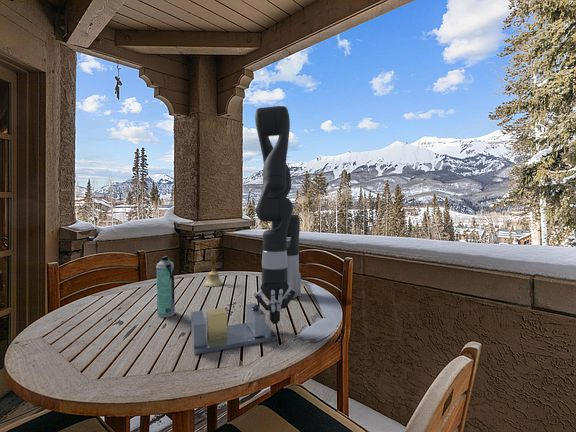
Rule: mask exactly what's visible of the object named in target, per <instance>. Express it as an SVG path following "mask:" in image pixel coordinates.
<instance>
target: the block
mask: <svg viewBox="0 0 576 432" xmlns="http://www.w3.org/2000/svg"><path fill="white" fill-rule="evenodd" d="M206 323H207V336H208V340H214V339H221V338H227V326H228V311H227V310H226V308H225V307H219V308H212V309H206Z"/></svg>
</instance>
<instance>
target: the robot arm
mask: <svg viewBox="0 0 576 432" xmlns="http://www.w3.org/2000/svg"><path fill="white" fill-rule="evenodd" d="M254 113H255V114H254V122H255V126H256V127H255V128H256V131H257V132H256V133H257V136H258V140H259V141H258V142H259V145H260V149H261V155H262V156H261V157H262V162H263V168H262V188H261V193H260V195H259V199H258V202H257V205H256V210H255V211H256V212H255V214H256V216H257V218H258V220H260V221H261V222H265V223H266V222H268V223H269V222H271V227H272V229H266V230H265V231H263V233H262V254H261V255H262V257H261V285H260V288H259V290H258V291H257V292H254V293H253V297H254V298H255V299H256V301H257V302H258V303H259V304H260V305H261V307H262V308H263V309H264V310H266V311H267V312H269V316H268V317H269V321H270V322H271V323H272V325H277V324H279V322H280V320H281V310H283V309H287V307H288V306H289V304H290V303H291V301H292V300H293V299H296V298H295V297H297V296H299V297H301V296H300V295H302V294H301V293H302V292H301V289H302V288H301V287H302V285H301V284H302V283H301V282H302V277H301V275H302V274H301V272H300V260H299V259H300V229H301V228H300V226H301V221H300V217H299V216H298V215H297V214H293V210H294V207H293V206H294V205H293V203H292V201H291V199H290V198H288V195H289V193H290V191H291V189H292V177H291V170H290V167H289V165H288V164H287V157H288V156H287V155H288V151H289V150H288V149H289V141H290V140H289V138H290V131H291V130H290V129H291V128H290V127H291V126H290V125H291V124H290V123H291V122H290V114H289V109H288V107H286V106H284V105H278V106H277V105H276V106H265V107H259V108H257V109H256V110H255V112H254ZM270 137H278V138H277V141H276V143H275V145H274V146H273V144H272V142H271V140H270ZM288 238H290V240H289V241H287V240H288ZM264 297H265V298H266V299H267V302H268V304H267V303H266V302H265V300H263V298H264ZM292 298H293V299H292ZM297 298H298V297H297Z"/></svg>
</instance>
